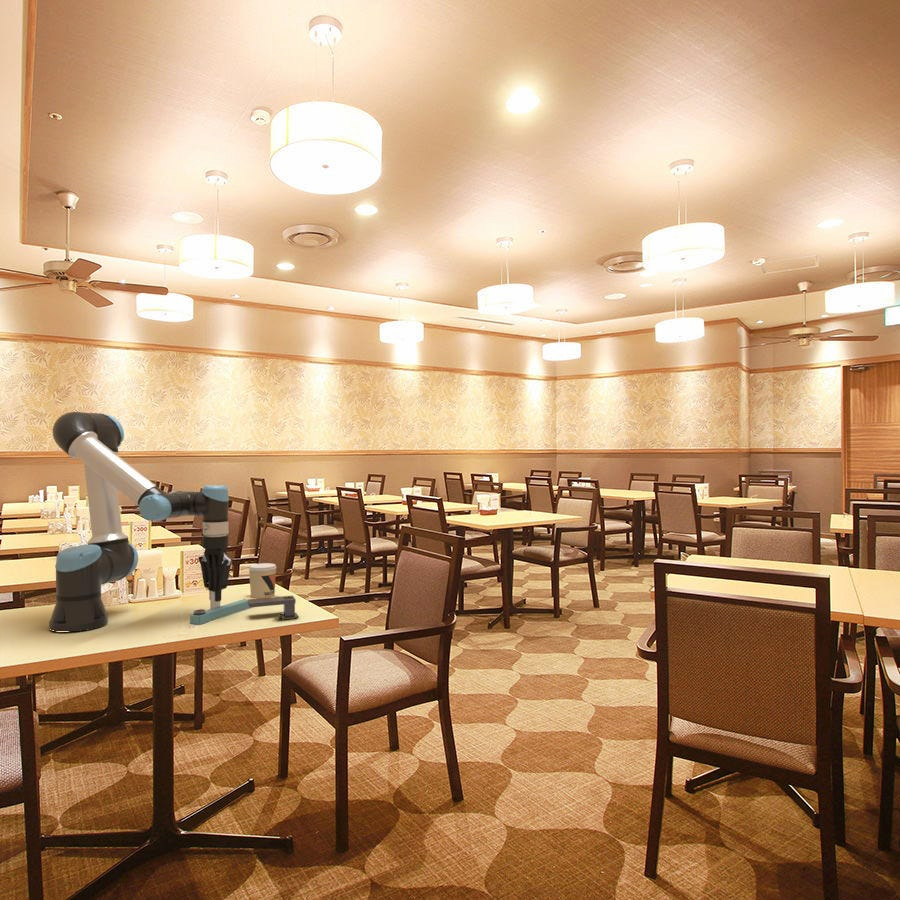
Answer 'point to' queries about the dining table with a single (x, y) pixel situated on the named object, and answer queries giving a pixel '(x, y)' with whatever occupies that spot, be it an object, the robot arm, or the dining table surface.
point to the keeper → (286, 600)
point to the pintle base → (199, 612)
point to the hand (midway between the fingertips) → (215, 611)
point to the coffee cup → (262, 580)
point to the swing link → (220, 612)
